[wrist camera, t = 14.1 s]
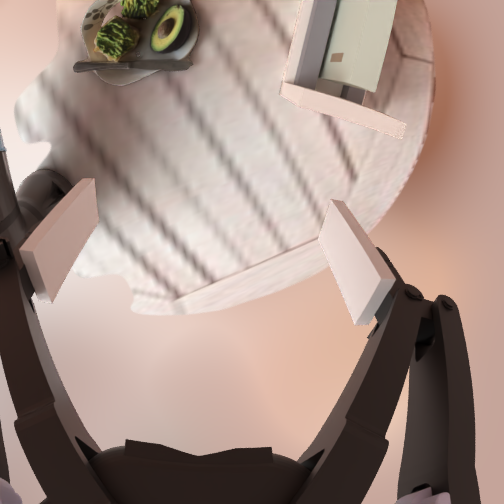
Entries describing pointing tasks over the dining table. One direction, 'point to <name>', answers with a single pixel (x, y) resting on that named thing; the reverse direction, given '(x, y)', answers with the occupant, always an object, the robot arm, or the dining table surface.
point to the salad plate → (138, 39)
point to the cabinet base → (320, 90)
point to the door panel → (358, 42)
